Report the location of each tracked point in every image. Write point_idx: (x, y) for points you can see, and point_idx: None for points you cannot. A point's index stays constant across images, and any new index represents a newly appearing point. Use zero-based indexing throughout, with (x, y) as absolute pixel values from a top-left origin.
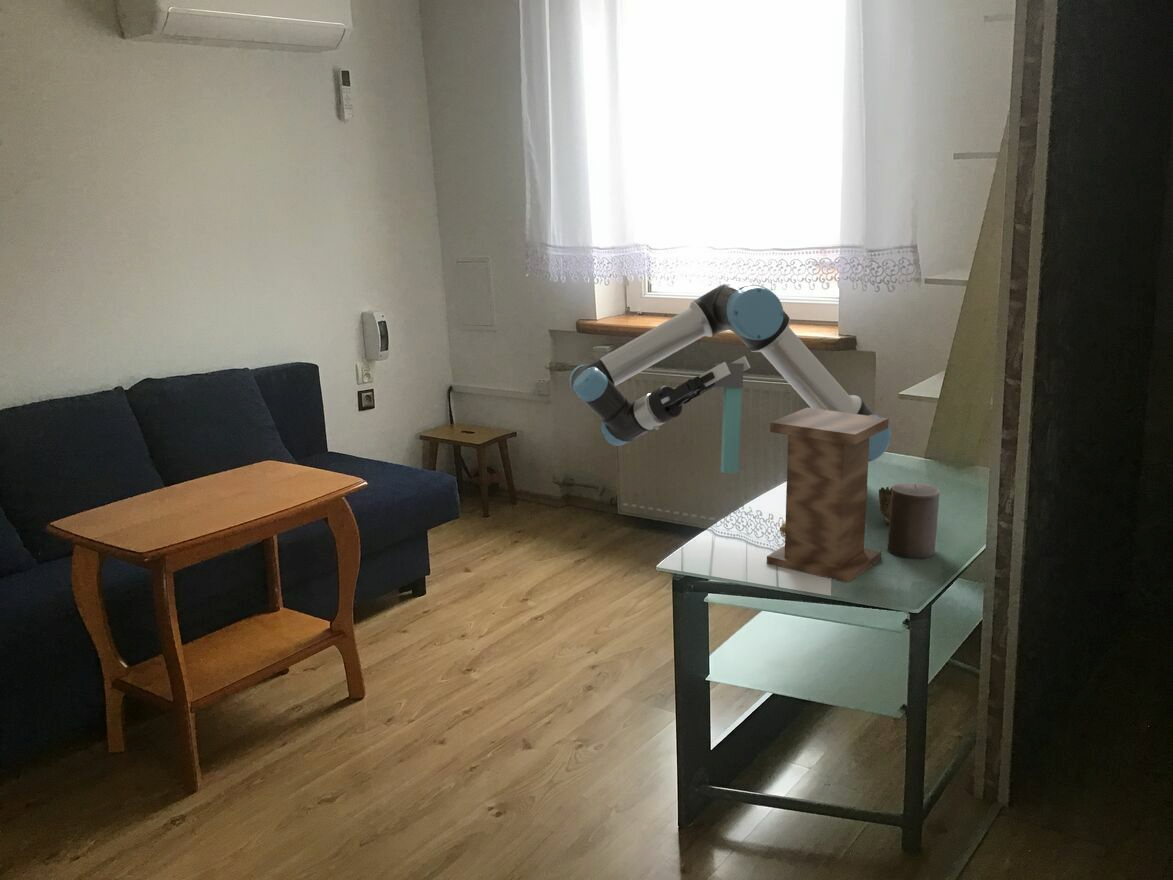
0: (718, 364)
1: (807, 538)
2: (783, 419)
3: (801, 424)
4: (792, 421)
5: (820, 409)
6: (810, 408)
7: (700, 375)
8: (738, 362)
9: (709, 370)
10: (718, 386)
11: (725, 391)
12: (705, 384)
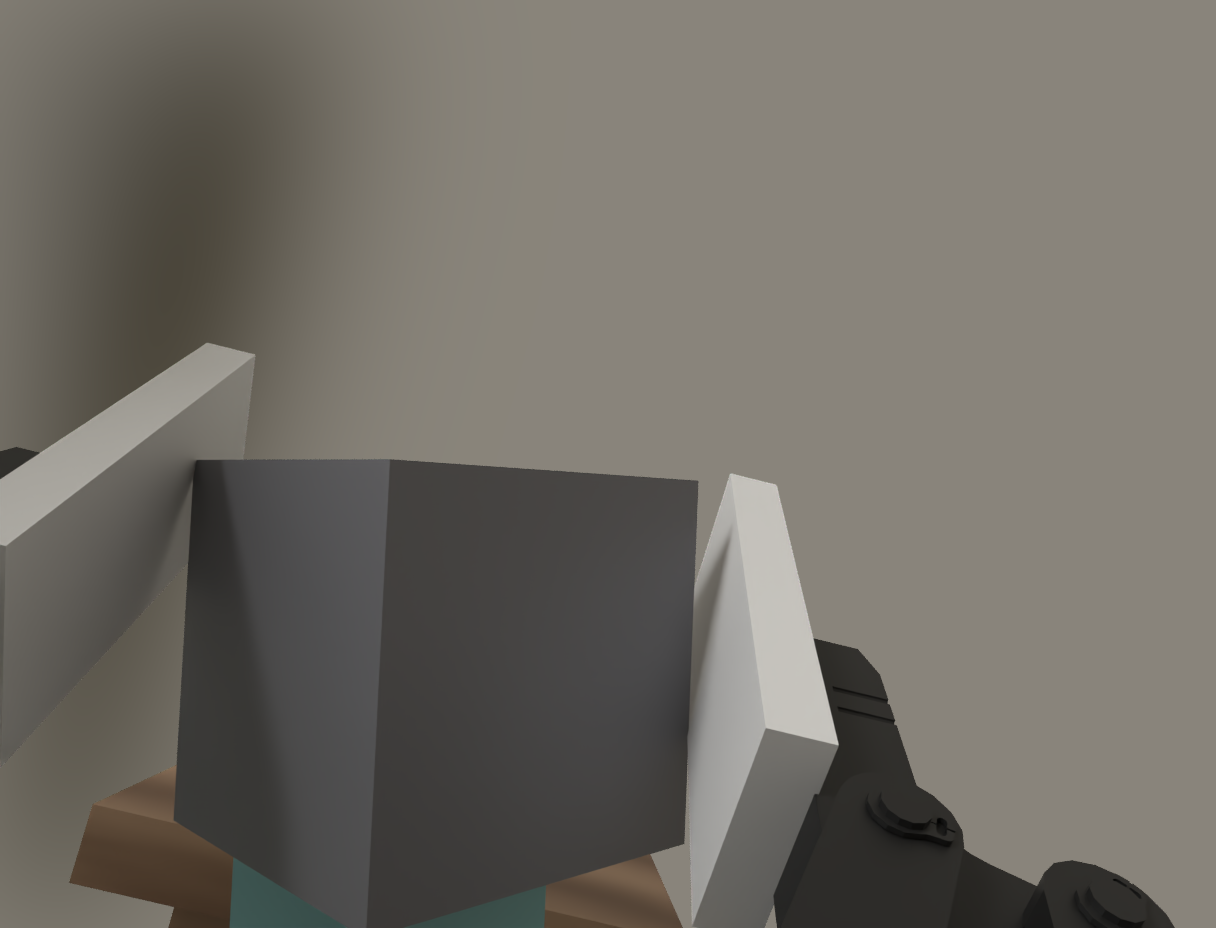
0: (622, 498)
1: None
2: (557, 901)
3: (611, 869)
4: (574, 882)
5: (142, 783)
6: (121, 800)
7: (833, 748)
8: (203, 430)
9: (802, 617)
10: (659, 845)
11: (486, 904)
12: (767, 895)
